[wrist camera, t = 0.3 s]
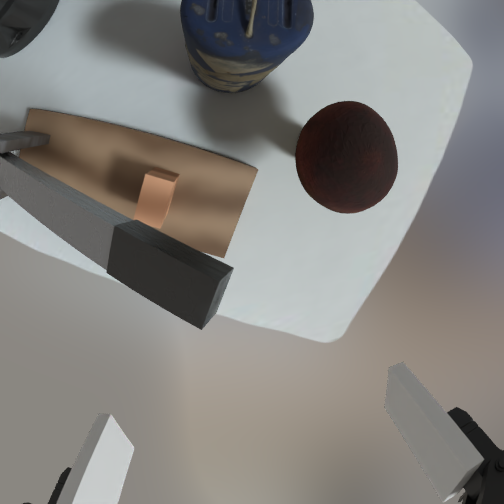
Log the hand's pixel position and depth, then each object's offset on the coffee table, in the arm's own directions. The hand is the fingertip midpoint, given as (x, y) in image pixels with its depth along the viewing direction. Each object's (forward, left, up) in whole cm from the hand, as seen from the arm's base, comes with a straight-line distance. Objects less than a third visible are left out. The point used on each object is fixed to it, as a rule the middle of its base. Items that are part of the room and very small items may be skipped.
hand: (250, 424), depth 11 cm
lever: (-2, -15, -14) cm, 20 cm away
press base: (-2, -14, -28) cm, 32 cm away
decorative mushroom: (-13, +8, -28) cm, 32 cm away
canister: (-20, -6, -28) cm, 35 cm away
